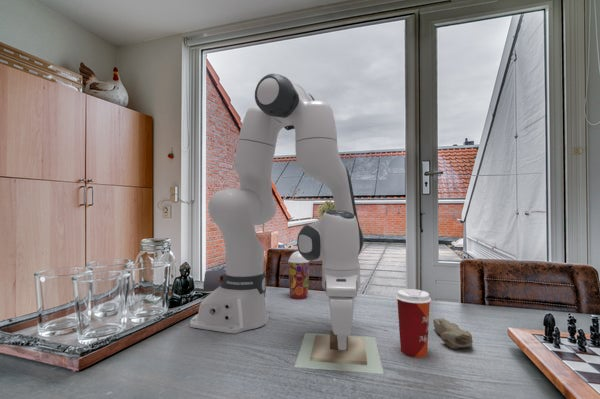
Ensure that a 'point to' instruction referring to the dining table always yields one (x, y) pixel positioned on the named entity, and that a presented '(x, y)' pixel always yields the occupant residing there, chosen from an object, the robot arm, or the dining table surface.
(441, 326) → the sculpture
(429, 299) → the paper cup
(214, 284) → the bluetooth speaker
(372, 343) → the mat
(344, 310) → the robot arm
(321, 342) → the lid
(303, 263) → the smoothie
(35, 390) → the dining table surface
